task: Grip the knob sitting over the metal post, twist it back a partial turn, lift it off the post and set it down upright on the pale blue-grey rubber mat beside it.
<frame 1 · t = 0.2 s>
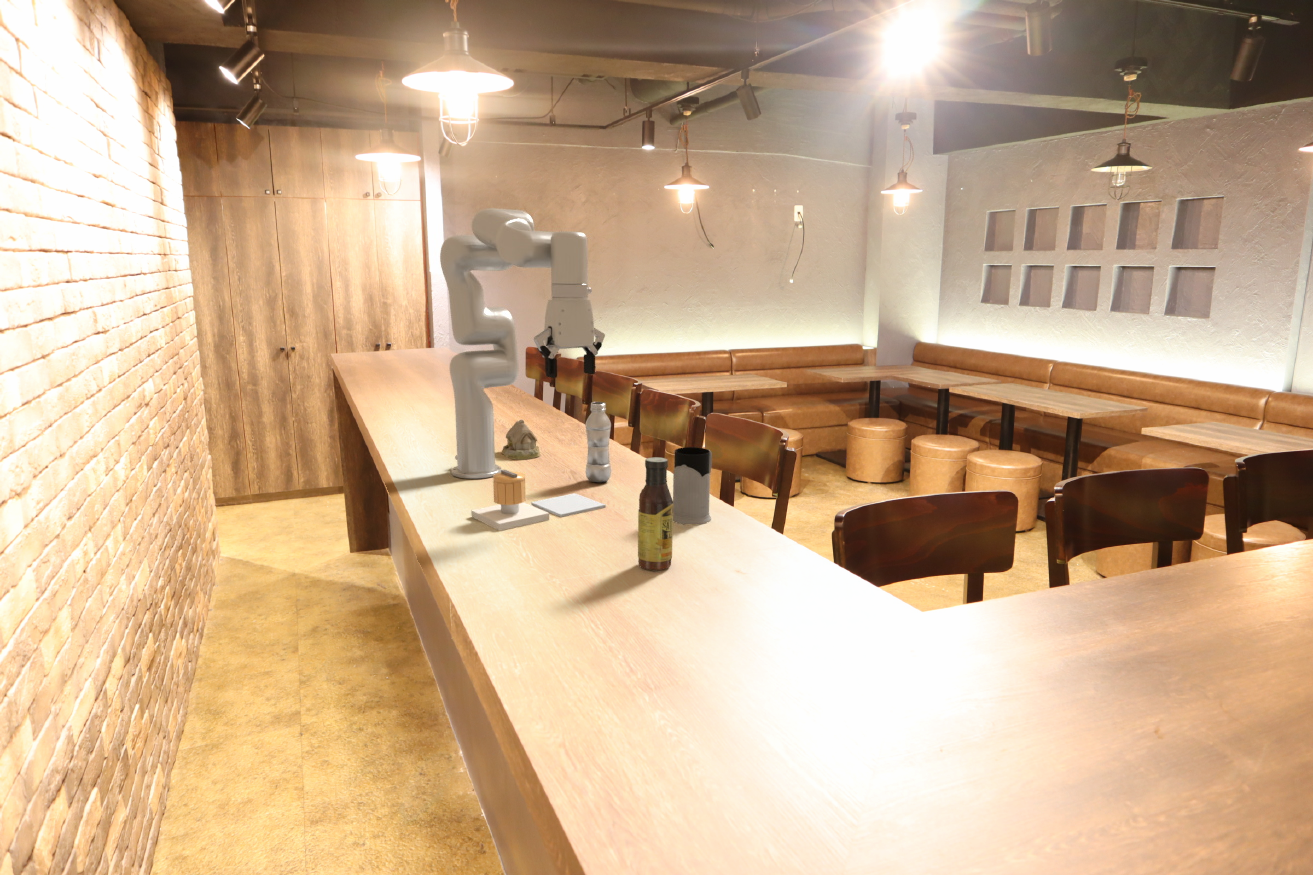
hand: (570, 375, 174), 31 cm above the bar counter, tool pointing down, fingers open, 9 cm apart
mat: (568, 505, 187), on the bar counter
ceramic model: (522, 455, 237), on the bar counter
sauce bottle: (655, 566, 151), on the bar counter
knob: (509, 500, 177), point 4 cm above the bar counter, touching post block
plastic bottle: (598, 482, 208), on the bar counter
post block: (510, 518, 177), on the bar counter
glass holder: (696, 516, 181), on the bar counter
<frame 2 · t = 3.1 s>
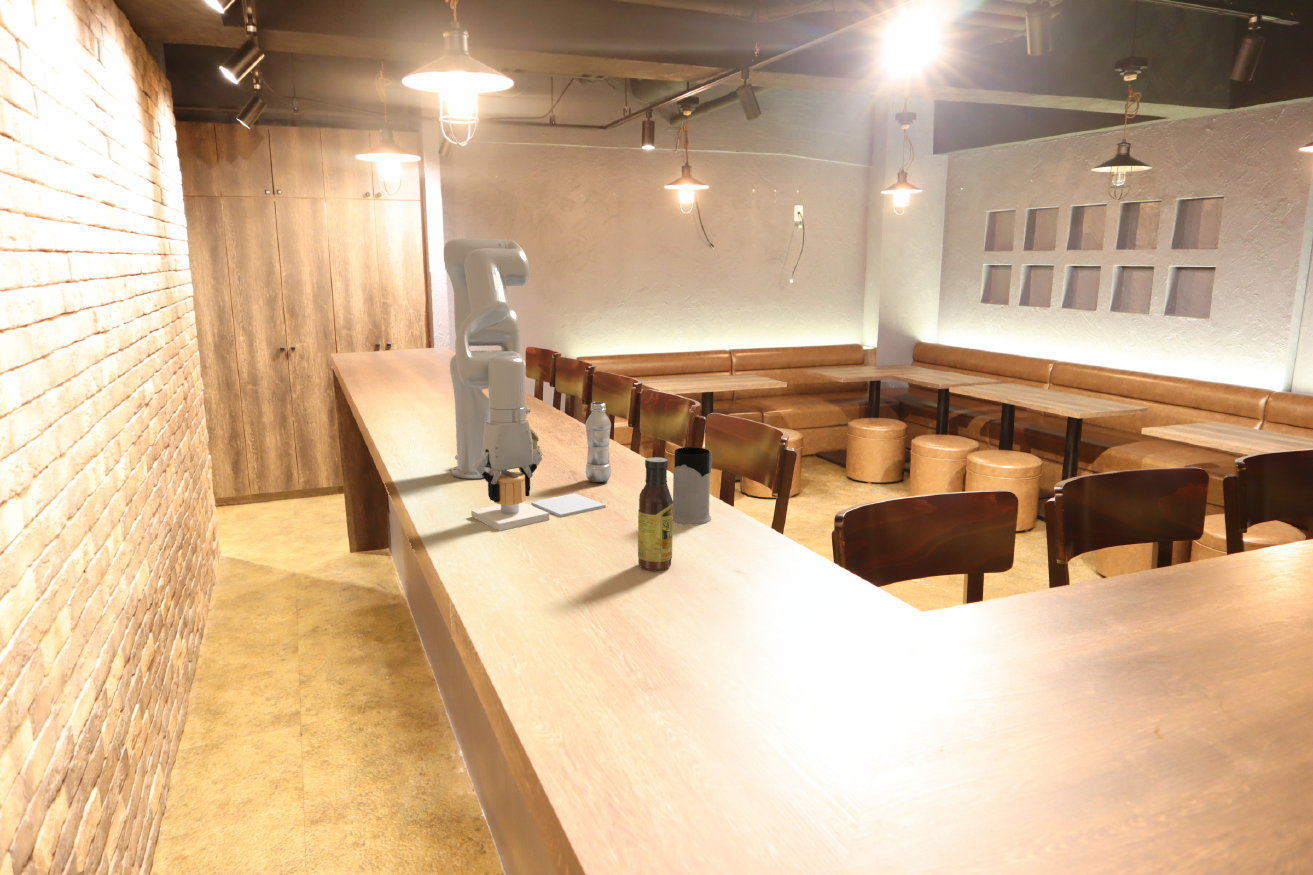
hand: (509, 497, 176), 5 cm above the bar counter, tool pointing down, fingers closed on knob, 6 cm apart
knob: (509, 500, 177), point 4 cm above the bar counter, touching gripper, post block
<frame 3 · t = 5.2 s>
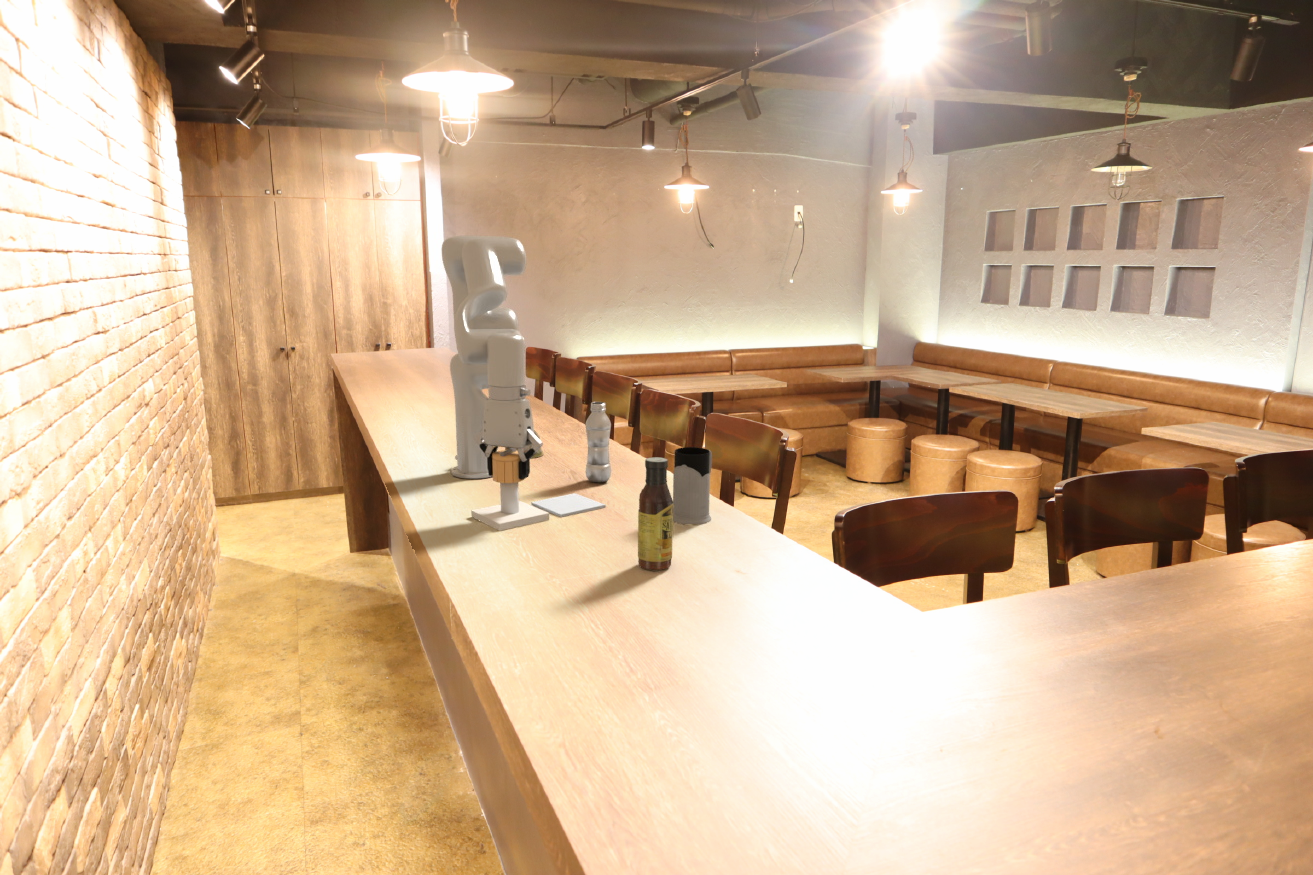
hand: (508, 475, 176), 9 cm above the bar counter, tool pointing down, fingers closed on knob, 6 cm apart
knob: (508, 478, 176), point 9 cm above the bar counter, touching gripper
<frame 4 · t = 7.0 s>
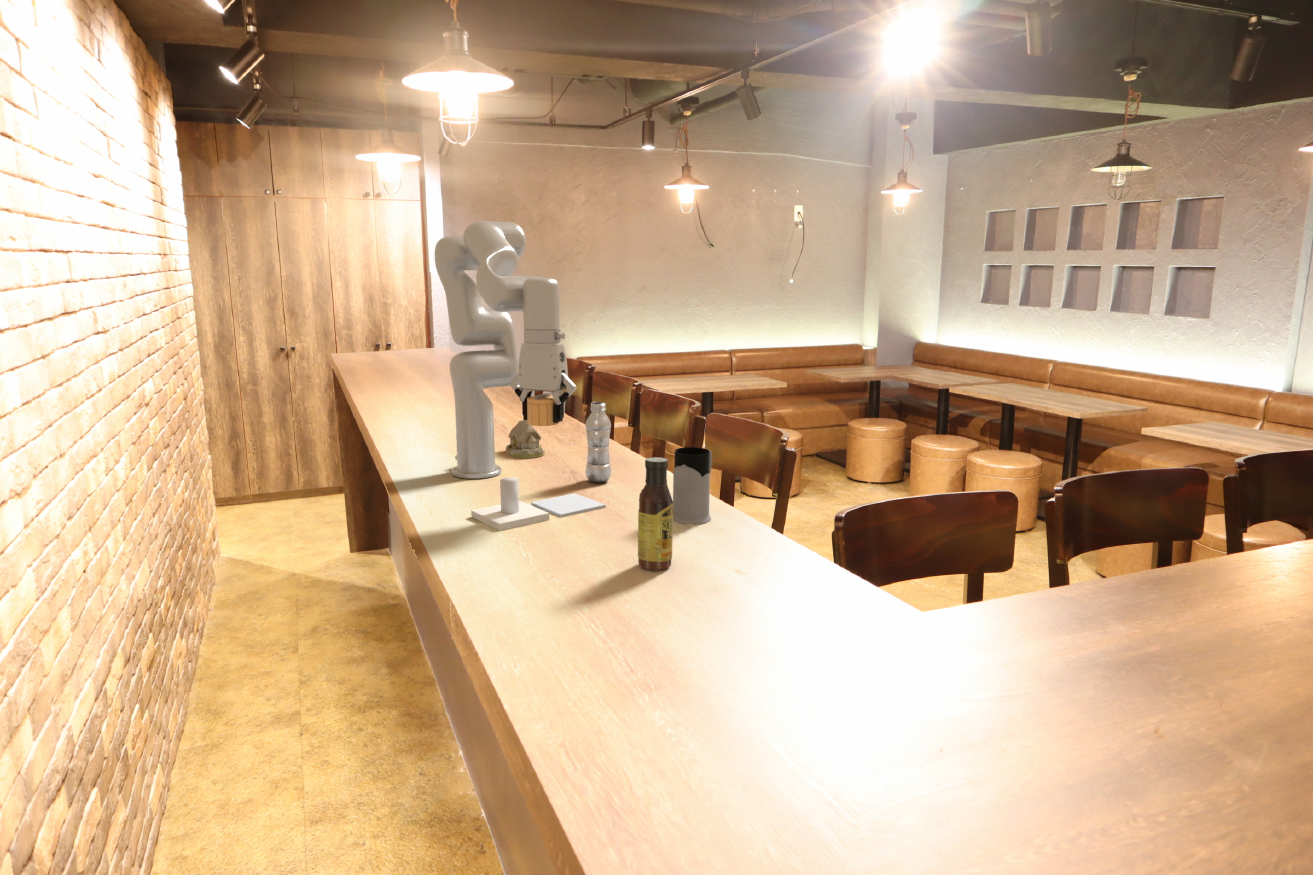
hand: (543, 419, 179), 21 cm above the bar counter, tool pointing down, fingers closed on knob, 6 cm apart
knob: (543, 423, 179), point 20 cm above the bar counter, touching gripper
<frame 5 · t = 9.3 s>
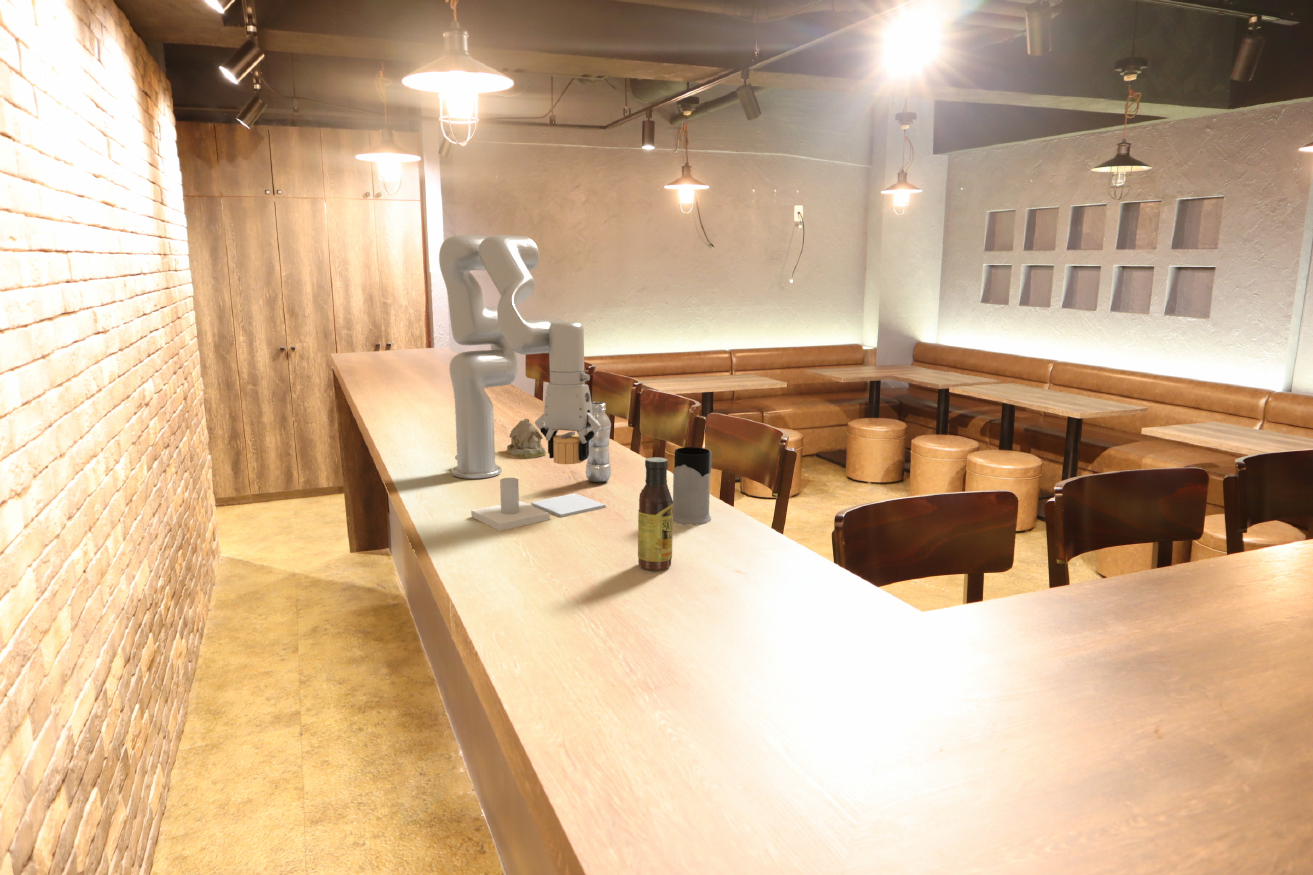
hand: (568, 457, 184), 11 cm above the bar counter, tool pointing down, fingers closed on knob, 6 cm apart
knob: (568, 460, 185), point 11 cm above the bar counter, touching gripper
when the fingers open (3 cm above the bar counter, at t = 11.3 s): knob drops 2 cm, resting on mat.
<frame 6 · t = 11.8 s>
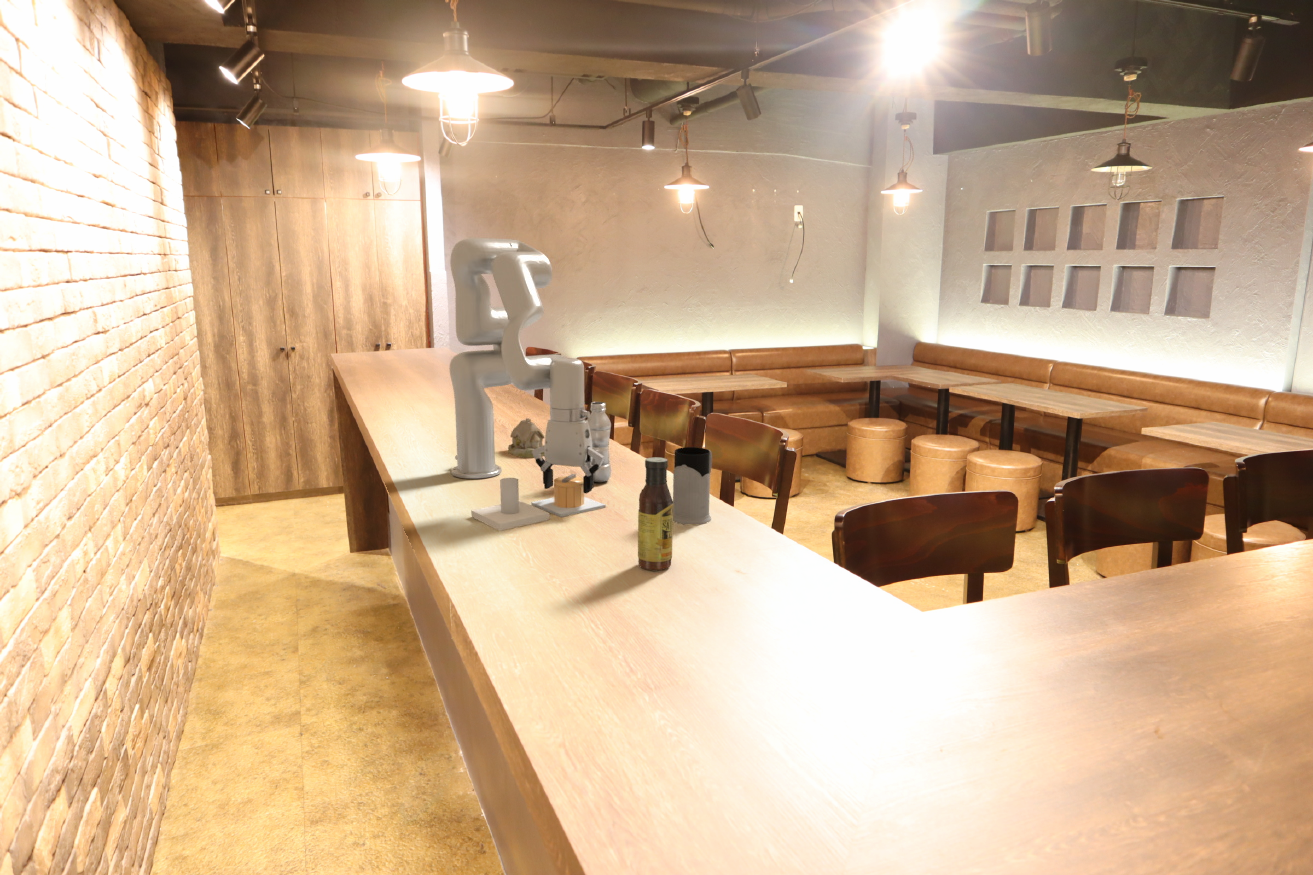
hand: (568, 489, 186), 4 cm above the bar counter, tool pointing down, fingers open, 9 cm apart
knob: (569, 503, 187), point 1 cm above the bar counter, touching mat
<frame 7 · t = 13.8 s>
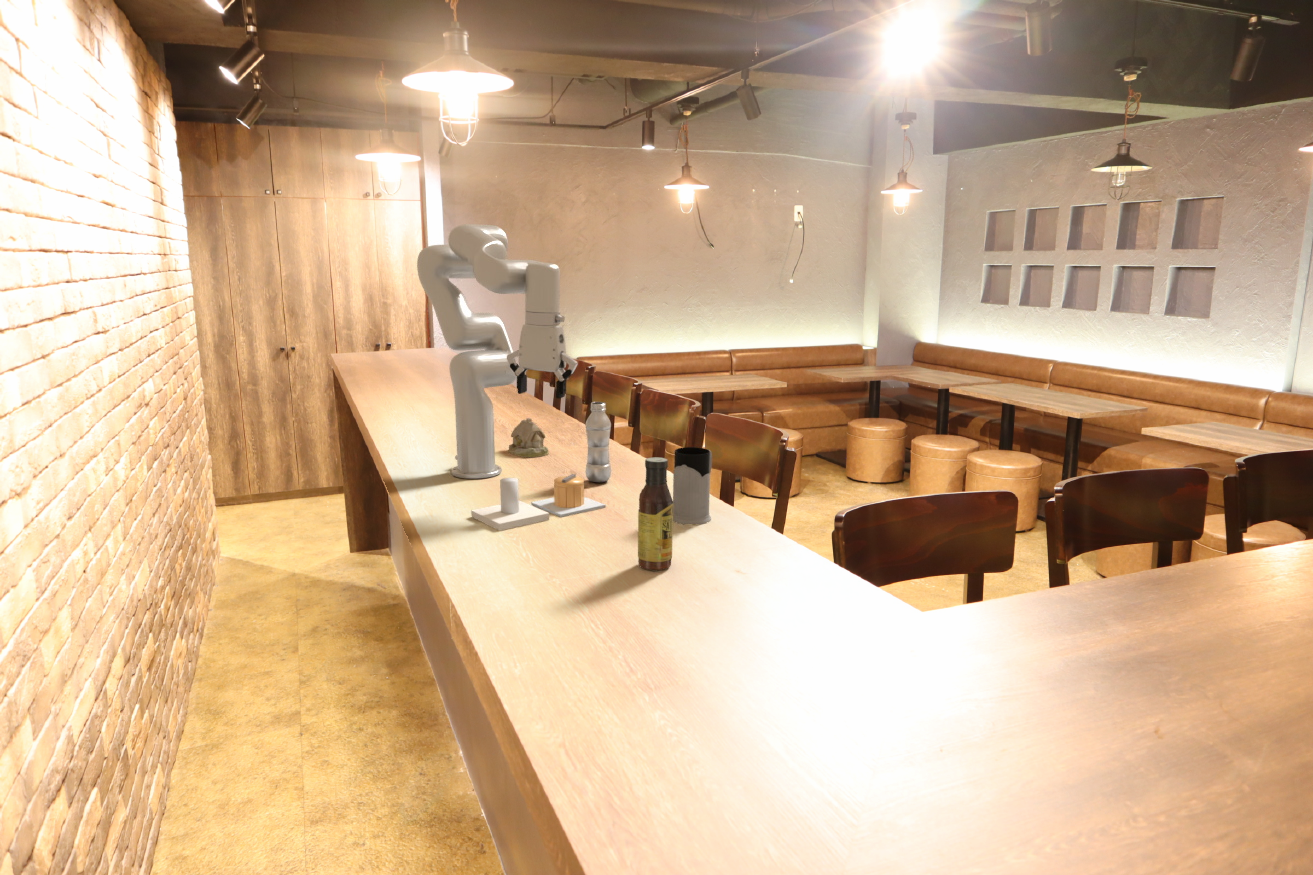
hand: (541, 395, 188), 24 cm above the bar counter, tool pointing down, fingers open, 9 cm apart
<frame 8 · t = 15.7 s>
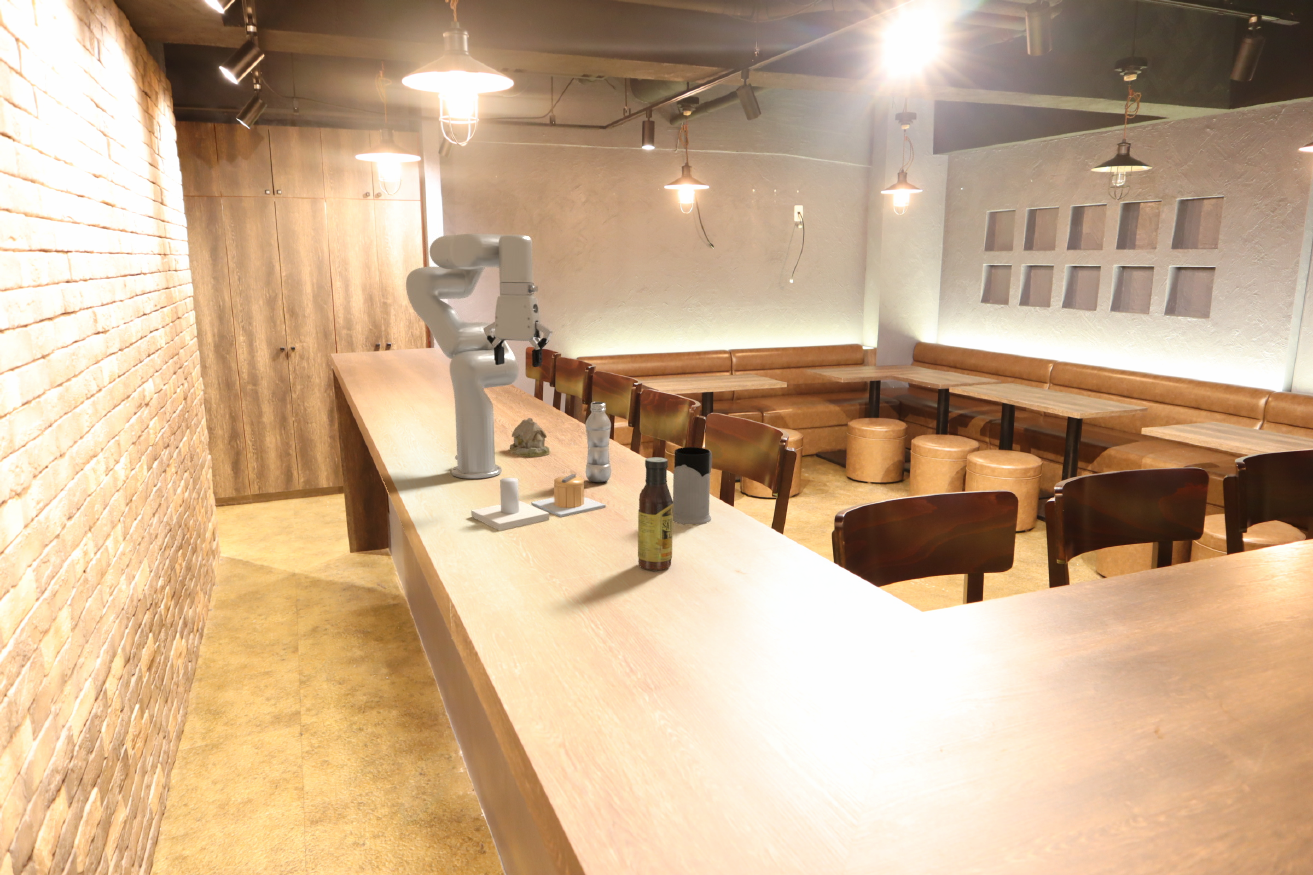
hand: (518, 365, 192), 30 cm above the bar counter, tool pointing down, fingers open, 9 cm apart
at the end: knob inside the target area on the mat (0.2 cm from its centre), point 0.6 cm above the mat's base; knob tilted 0°; knob touching mat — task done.
